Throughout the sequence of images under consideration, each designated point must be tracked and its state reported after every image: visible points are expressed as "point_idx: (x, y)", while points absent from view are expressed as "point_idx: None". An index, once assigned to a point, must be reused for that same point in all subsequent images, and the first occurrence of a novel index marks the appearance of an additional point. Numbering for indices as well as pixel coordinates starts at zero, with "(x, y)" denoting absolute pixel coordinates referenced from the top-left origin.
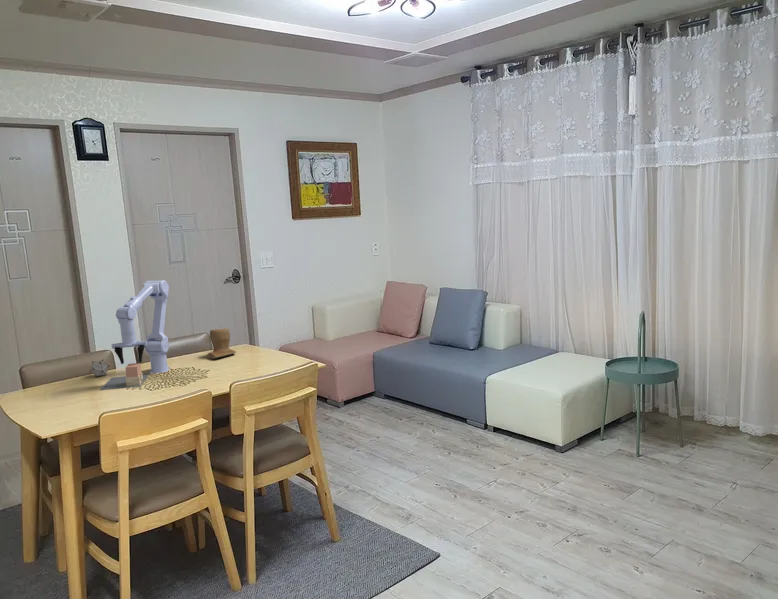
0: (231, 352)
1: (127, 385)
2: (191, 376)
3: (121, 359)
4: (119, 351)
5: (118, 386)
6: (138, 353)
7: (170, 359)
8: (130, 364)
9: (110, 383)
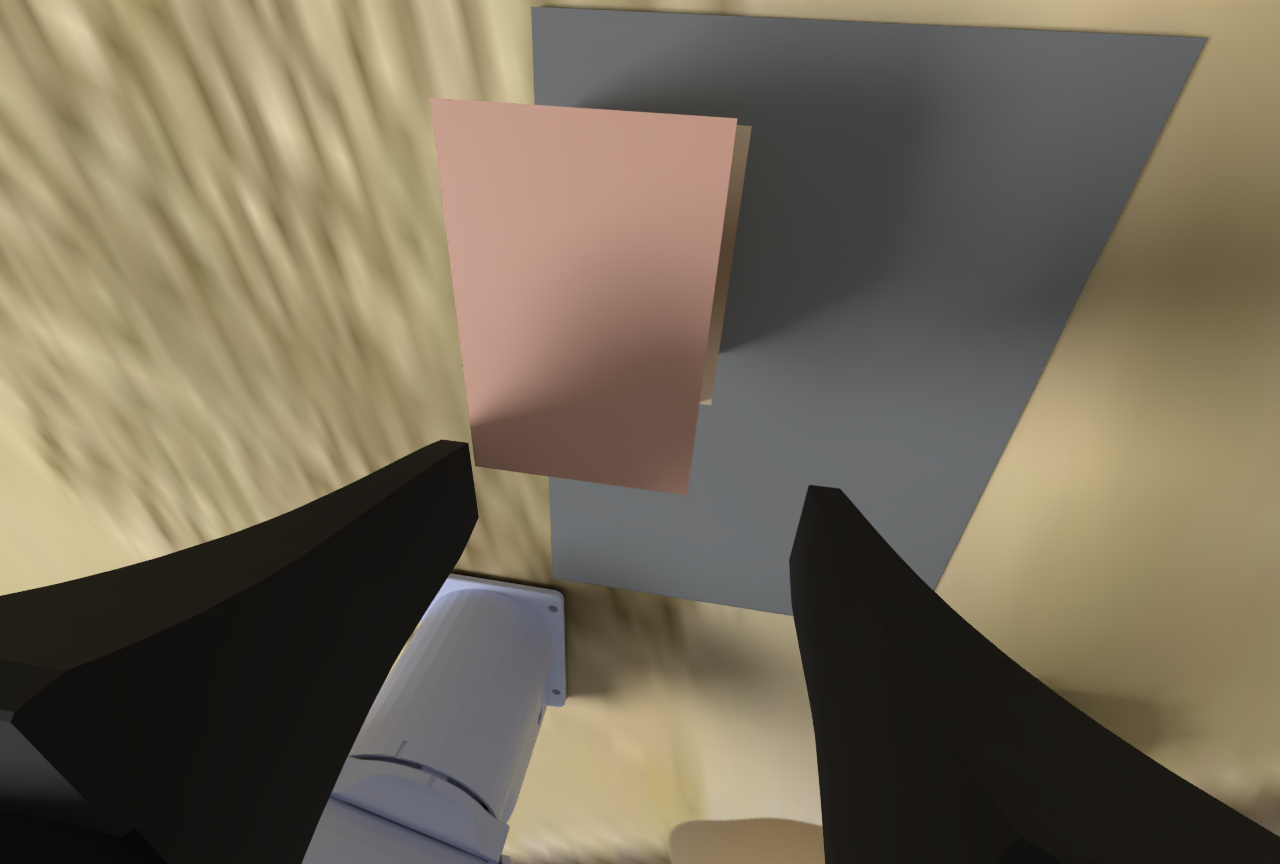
0: None
1: None
2: (94, 318)
3: (850, 543)
4: (1011, 785)
5: (865, 181)
6: (300, 552)
7: (507, 834)
8: (646, 424)
9: (955, 409)
